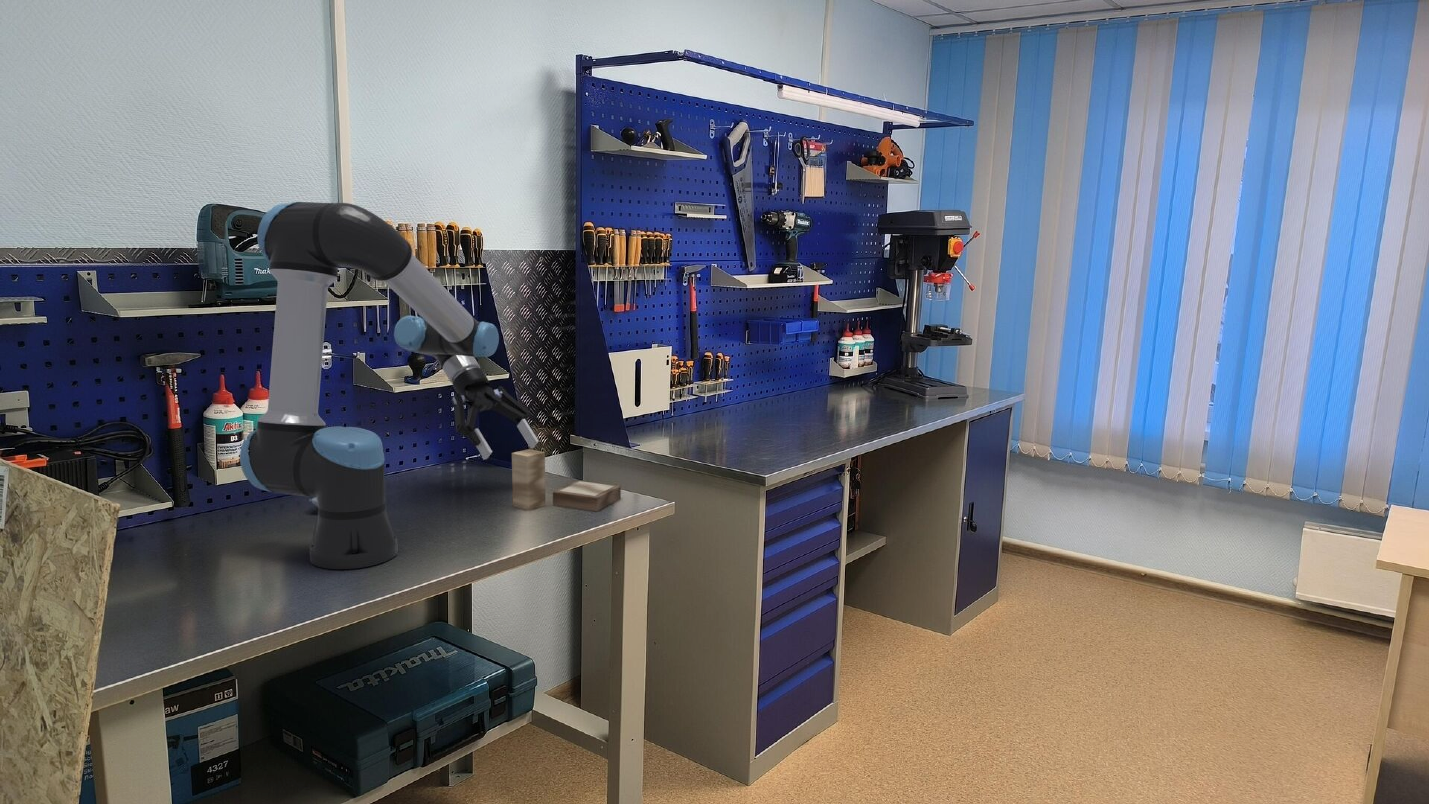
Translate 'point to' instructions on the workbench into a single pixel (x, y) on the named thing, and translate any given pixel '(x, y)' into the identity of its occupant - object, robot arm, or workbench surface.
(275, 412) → the robot arm
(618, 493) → the plinth
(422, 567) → the workbench surface
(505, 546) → the workbench surface
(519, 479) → the oak block
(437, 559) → the workbench surface
